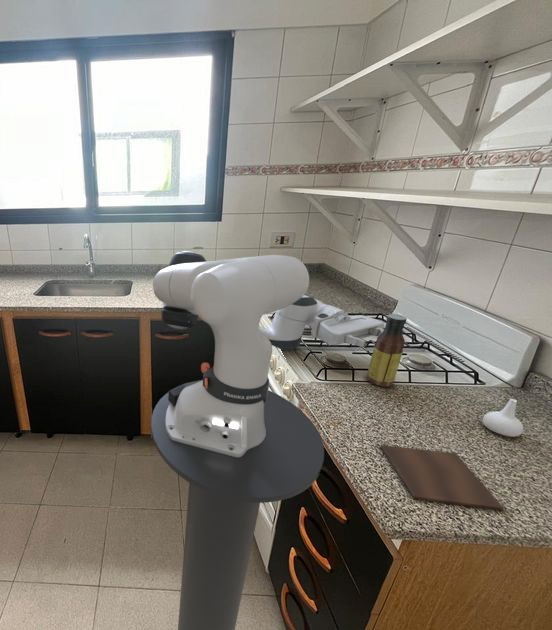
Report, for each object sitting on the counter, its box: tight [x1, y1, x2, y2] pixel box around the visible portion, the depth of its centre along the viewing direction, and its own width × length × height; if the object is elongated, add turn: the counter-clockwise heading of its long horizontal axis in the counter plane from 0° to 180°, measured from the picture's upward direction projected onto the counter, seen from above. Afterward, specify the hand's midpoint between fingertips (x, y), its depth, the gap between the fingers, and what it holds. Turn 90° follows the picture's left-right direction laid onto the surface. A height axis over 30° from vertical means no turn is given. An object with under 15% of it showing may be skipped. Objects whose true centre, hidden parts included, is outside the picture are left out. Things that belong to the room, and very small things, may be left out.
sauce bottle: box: [366, 313, 408, 388], centre depth 92 cm, size 7×6×20 cm
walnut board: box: [380, 445, 505, 511], centre depth 67 cm, size 14×13×1 cm
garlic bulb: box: [482, 398, 524, 438], centre depth 77 cm, size 6×6×8 cm
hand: (377, 341), depth 95 cm, fingers open, 8 cm apart
